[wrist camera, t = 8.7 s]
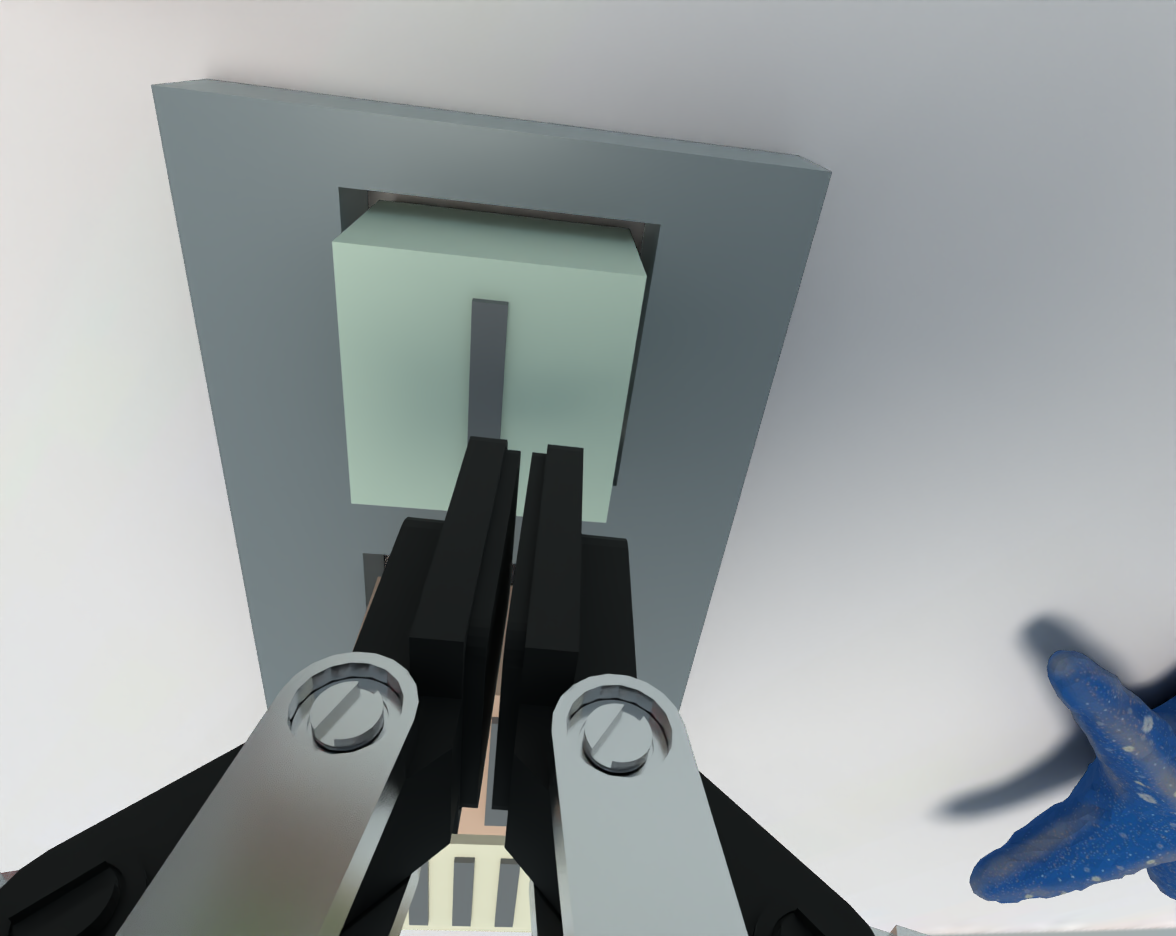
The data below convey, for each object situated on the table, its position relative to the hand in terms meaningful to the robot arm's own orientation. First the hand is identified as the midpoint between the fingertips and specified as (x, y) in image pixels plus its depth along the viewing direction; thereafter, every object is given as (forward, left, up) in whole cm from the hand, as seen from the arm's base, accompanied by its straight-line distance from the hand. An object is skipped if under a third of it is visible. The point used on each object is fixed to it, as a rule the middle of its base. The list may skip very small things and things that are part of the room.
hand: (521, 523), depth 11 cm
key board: (+1, +10, -10) cm, 14 cm away
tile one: (+1, 0, -9) cm, 9 cm away
